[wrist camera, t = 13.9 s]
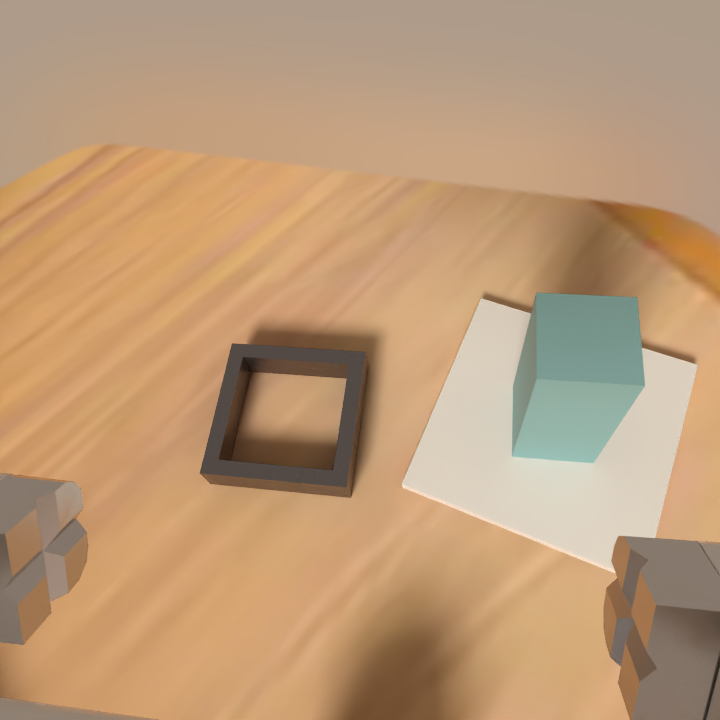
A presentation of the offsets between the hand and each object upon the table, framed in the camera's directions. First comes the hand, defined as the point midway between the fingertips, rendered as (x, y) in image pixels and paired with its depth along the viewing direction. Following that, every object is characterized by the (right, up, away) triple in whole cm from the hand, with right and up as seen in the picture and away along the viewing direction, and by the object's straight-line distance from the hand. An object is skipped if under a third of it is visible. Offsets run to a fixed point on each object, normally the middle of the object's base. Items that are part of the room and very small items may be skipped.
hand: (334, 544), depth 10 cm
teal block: (+10, 0, +24) cm, 26 cm away
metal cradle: (-3, -1, +26) cm, 26 cm away
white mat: (+10, -1, +24) cm, 27 cm away
